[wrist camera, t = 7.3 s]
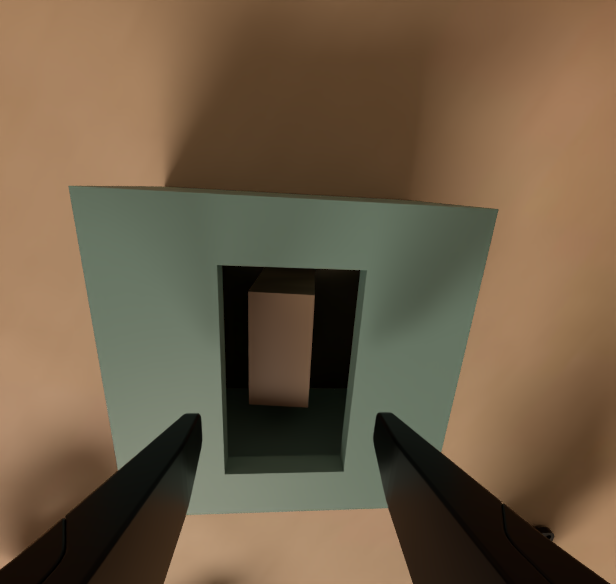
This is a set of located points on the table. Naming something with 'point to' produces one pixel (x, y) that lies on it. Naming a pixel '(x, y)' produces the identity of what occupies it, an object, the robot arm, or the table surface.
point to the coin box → (211, 345)
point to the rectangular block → (281, 336)
